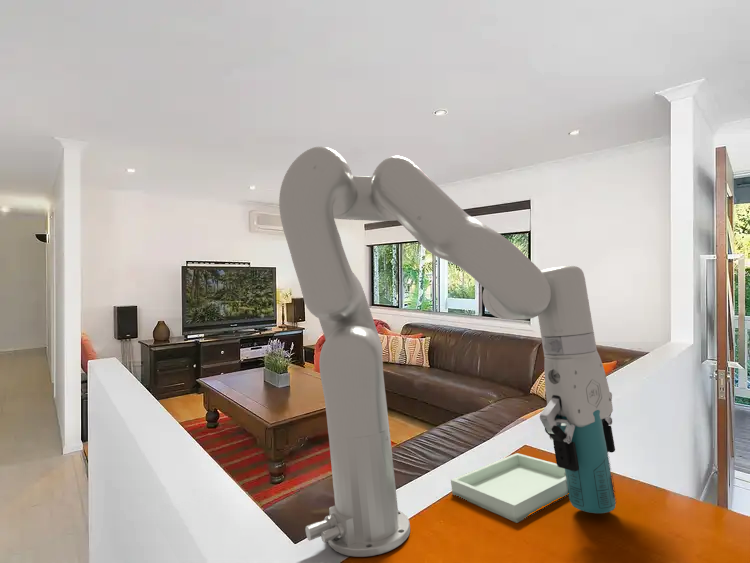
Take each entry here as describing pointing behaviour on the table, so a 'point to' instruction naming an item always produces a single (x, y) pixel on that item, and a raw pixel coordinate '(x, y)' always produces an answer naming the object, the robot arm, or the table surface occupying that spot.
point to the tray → (512, 486)
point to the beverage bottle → (591, 470)
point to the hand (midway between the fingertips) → (586, 459)
